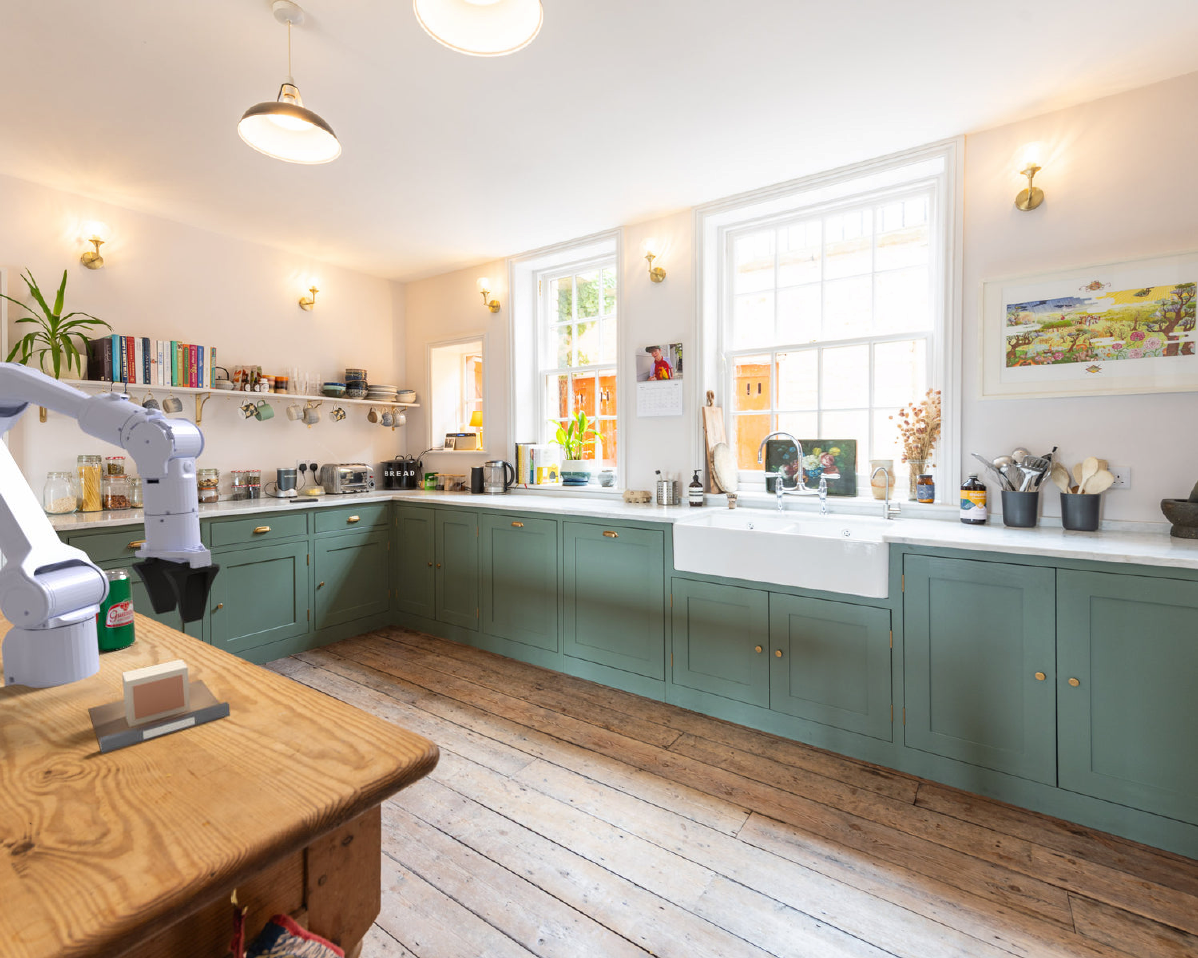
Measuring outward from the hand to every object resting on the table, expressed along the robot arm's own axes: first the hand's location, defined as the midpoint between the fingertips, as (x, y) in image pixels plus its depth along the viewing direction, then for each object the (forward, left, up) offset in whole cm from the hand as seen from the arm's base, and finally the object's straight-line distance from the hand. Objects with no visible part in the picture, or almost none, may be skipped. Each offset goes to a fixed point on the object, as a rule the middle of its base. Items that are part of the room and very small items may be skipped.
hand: (179, 616), depth 77 cm
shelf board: (+6, -10, -9) cm, 15 cm away
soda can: (-24, +12, -10) cm, 29 cm away
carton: (+6, -10, -8) cm, 14 cm away
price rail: (+11, -13, -8) cm, 19 cm away
